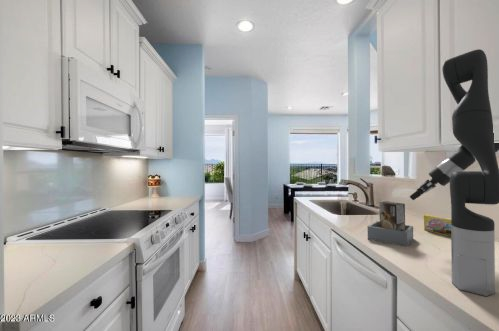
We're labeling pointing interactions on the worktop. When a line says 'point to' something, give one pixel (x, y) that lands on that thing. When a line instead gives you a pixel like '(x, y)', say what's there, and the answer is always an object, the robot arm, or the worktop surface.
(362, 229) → the worktop surface
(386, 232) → the bin
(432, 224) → the candy box
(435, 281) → the worktop surface
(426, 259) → the worktop surface
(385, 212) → the coffee box
